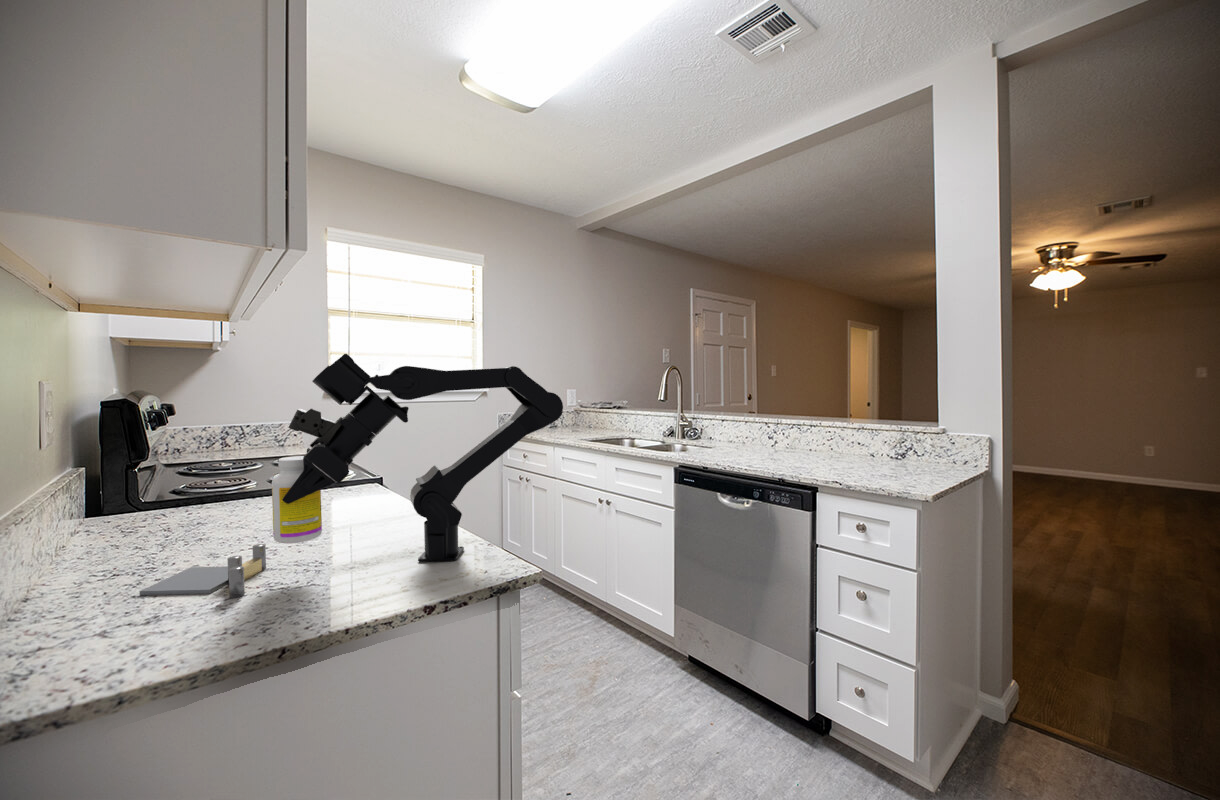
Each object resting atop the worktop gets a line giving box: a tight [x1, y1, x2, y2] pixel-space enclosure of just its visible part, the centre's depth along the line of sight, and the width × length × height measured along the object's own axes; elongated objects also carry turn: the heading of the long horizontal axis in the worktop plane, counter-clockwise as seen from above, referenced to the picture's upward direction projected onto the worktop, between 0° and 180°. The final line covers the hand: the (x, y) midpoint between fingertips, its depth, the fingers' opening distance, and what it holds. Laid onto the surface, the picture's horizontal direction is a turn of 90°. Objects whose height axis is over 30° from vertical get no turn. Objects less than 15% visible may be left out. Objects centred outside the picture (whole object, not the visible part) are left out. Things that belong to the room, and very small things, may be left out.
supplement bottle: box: [271, 455, 323, 544], centre depth 83 cm, size 7×7×13 cm
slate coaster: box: [138, 565, 228, 596], centre depth 82 cm, size 10×10×1 cm
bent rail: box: [227, 543, 267, 599], centre depth 81 cm, size 13×5×4 cm, turn 2°
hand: (286, 497), depth 82 cm, fingers closed on supplement bottle, 7 cm apart
